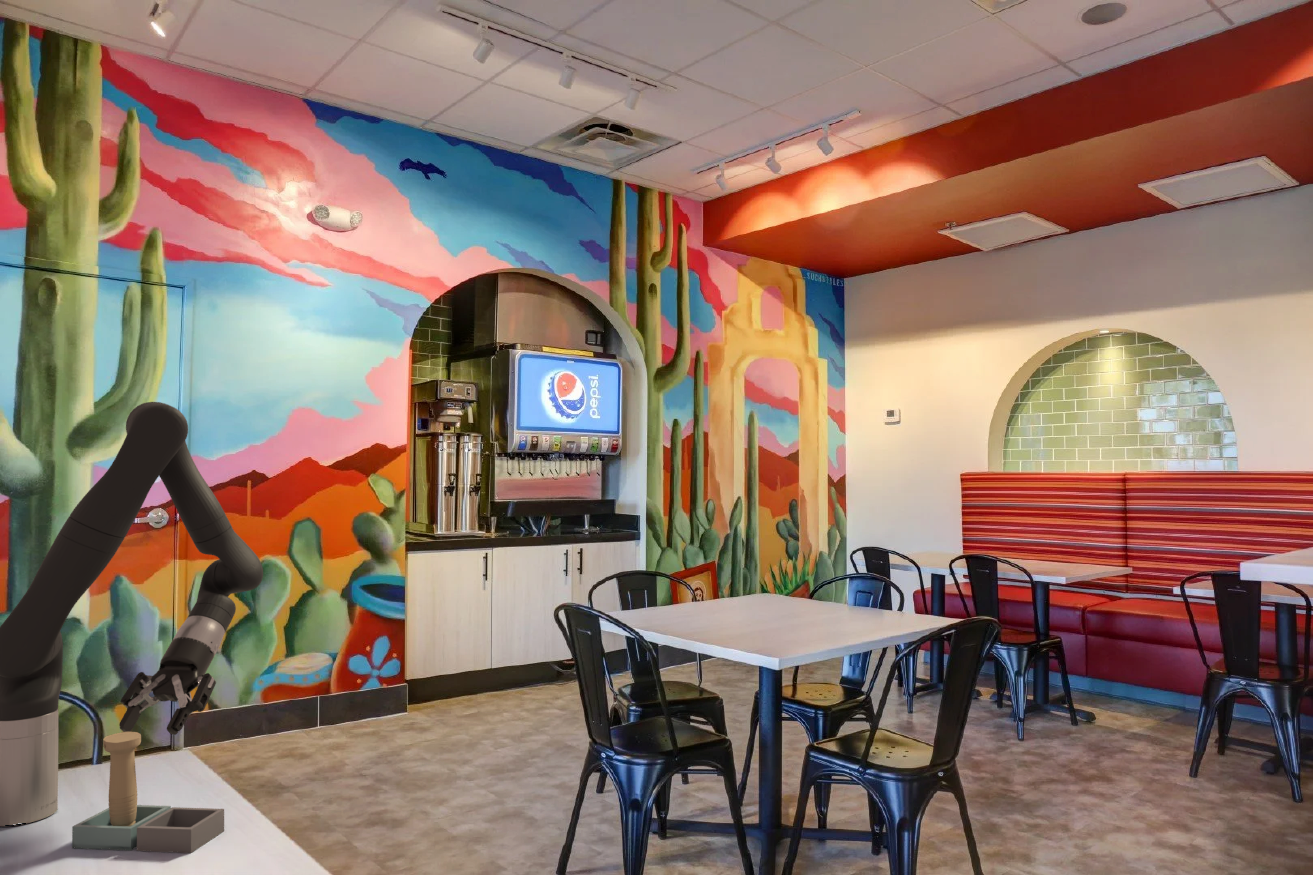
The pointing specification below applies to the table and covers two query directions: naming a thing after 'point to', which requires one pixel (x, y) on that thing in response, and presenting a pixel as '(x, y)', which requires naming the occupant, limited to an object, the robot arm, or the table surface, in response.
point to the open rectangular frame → (180, 830)
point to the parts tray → (112, 830)
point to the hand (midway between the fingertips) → (147, 731)
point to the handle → (122, 777)
